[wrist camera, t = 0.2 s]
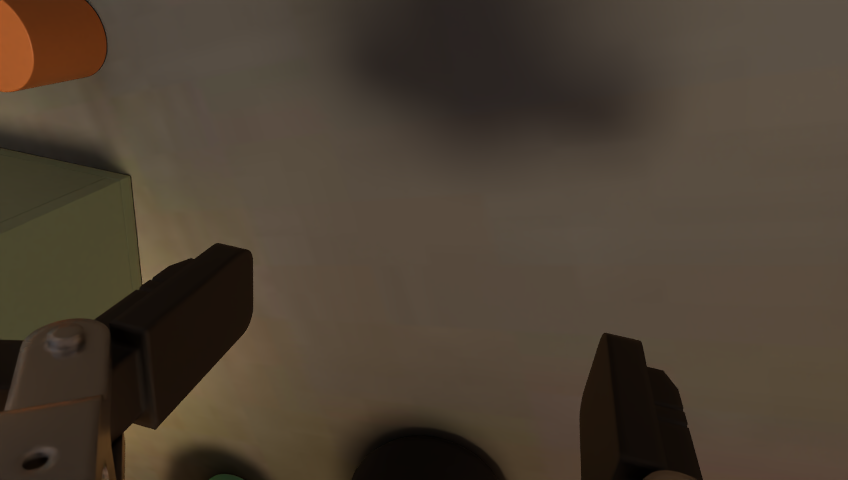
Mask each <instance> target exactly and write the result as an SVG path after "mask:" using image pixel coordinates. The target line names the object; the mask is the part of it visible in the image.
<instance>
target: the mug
mask: <svg viewBox="0 0 848 480" xmlns="http://www.w3.org/2000/svg"><path fill="white" fill-rule="evenodd" d="M209 480H244V479H242V478H240V477H237V476H235V475H230V474H219V475H215V476H214V477H212V478H210V479H209Z"/></svg>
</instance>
